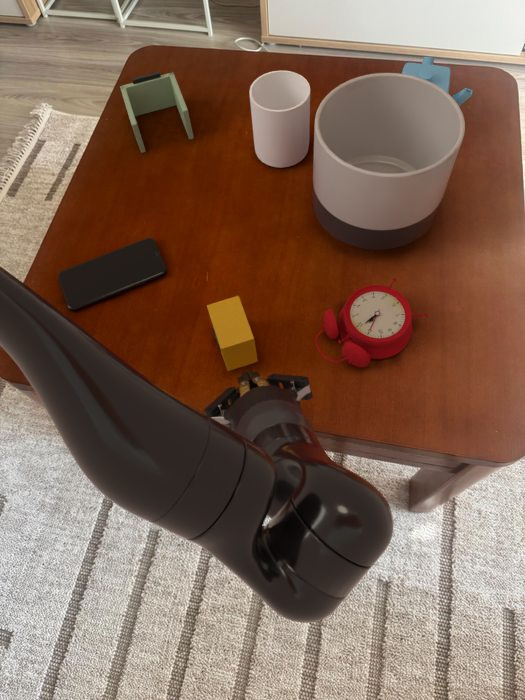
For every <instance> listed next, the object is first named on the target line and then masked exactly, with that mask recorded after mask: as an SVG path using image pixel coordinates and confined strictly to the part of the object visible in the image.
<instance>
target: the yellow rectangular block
mask: <svg viewBox="0 0 525 700" xmlns="http://www.w3.org/2000/svg"><path fill="white" fill-rule="evenodd" d="M206 308H207V311H208V315H209V318H210V322H211V325H212V328H211V329H212V332H213V335H214V338H215V342H216V345H217V347H218V351H220V354H221V356H222V359H223V362H224V365H225V366H224V367H225V369H226V371H227V372H230V371H233V370H236V369H239V368H243V367H246V366H249V365H252V364H255V363H258V362H259V360H258V354H257V347H256V341H255V337H254V334H253V332H252V328H251V326H250V323H249V320H248V317H247V315H246V312H245V309H244V307H243V303H242V300H241V297H240V295H236V296H233V297H232V296H231V297H229V298H226V299H222V300H220V301H216V302H213V303H210V304H206Z"/></svg>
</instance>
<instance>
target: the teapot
mask: <svg viewBox="0 0 525 700" xmlns="http://www.w3.org/2000/svg"><path fill="white" fill-rule="evenodd" d="M434 62H435V58H434V57H431V56H424V57H422V61H421V62H420V63H419V62H406V63H405V64H404V66H403V67H402V70H401V71H402V72H401V73H400V74H407V75H412V76H415V77H419V78H422V79H425V80H427V81H429V82H432V83H434V84H435V85H437V86H439V87H440V88H442V89H443V90H445V91H446V92H447V93H448V94H449V93H450V83H451V68H450V67H449V66H444V65H436V64H434ZM473 91H474V90H473V89H471V88H467V87H464V88H463V89H462V90H460V91H458V92H457V93H455V94H452V95H450V94H449V95H450V96H451V97H452V98H453V99H454V100H455V101H456V103H457V104H458V105H459V107H460V106H462V105H463V104H464V103H465V102H466V101H467V100H468V99H469V98H471V97H472V95H473Z"/></svg>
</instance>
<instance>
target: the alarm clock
mask: <svg viewBox="0 0 525 700" xmlns="http://www.w3.org/2000/svg"><path fill="white" fill-rule="evenodd" d="M396 281H397V278H396V277H394V278H392V281H391V283H390V284H389V286H386V285H382V284H371V285H366V286H363V287H360V288H359V289H357V290H355V291H354V292H353V293H352V294H351V295H350V296H349V297H348V298H347V300H346V302H345V303H344V305H343V307H342V308H341V310H340V312H339V315H338V318H337V320H336V316H335V313H334V310H333V309H332V308H329V309H327V310H325V311H324V313H323V314H322V324H320V326H319V327H320V328H322V329H321V330H320V331H319V332H318V333H317V335H316V337H315V340H314V343H315V346H316V349H317V350H318V352H319V354H320V355H321V356H322V357H323V358H324V359H325V360H326V361H328V362H330V363H332V364H338V363H341V362H344V361H347V362H348V364H349V365H353V366H355V367H357V368H365V367H367V366H368V365H369V364H370V363H371V360H383V359H384V360H385V359H388V358H391V357H394V356H395V355H398V354H399V353H400V352H402V351H403V350H404V349H406V347H407V345H408V344H409V342H410V340H411V338H412V336H413V335H412V334H413V318H419V317H425V318H428V317H429V314H428V313H425V314H413V312H412V308H411V306H410V303H409V301H408V300H407V298H406V297H405V296H404V295H403V294H402V293H401V292H400V291H398V290H396V289H395V288H392V287H393V285H394V283H395V282H396ZM324 332H325V334H326V336H327V337H328V339H330V340H337V339H338V338H340V339H339V340H338V341H337V342H338V343H339V345H341V344H342V343H343V346H342V347H341V354H342V356H343V357H344V358H342V359H339V360H333V359H331V358H328V357H327V356H326V355H325V354H324V353H323V352H322V350H321V349H320V347H319V344H318V338H319V336H320V335H322V333H324Z"/></svg>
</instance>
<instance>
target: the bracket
mask: <svg viewBox="0 0 525 700" xmlns="http://www.w3.org/2000/svg"><path fill="white" fill-rule="evenodd" d="M119 88H120V92H121V95H122V98H123V101H124V105H125V109H126V111H127V112H126V113H127V114H128V115H127V116H128V118H129V121H130V125H131V128H132V130H133V135H134V137H135V139H136V142H137V146H138V148H139V151H140V153H141V154H143V153H146V152H147V150H146V146H145V144H144V140H143V138H142V134H141V132H140V128H139V125H138V121H137V118H136V117H138V116H142V115H145V114H150V113H153V112H157V111H160V110H165V109H168V108H172V107H175V106H176V108H177V110H178V113H179V116H180V119H181V122H182V124H183V127H184V129H185V132H186V135H187V137H188V140H194V139H195V137H194V132H193V128H192V123H191V118H190V115H189V109H188V107H187V104H186V102H185V99H184V97H183V94H182V91H181V89H180V86H179V84H178V81H177V78H176V76H175V73H174V71H171V72H168V73H164V74H161V73H160V71H156V72H152V73H148V74H143V75H140V76H136V77H132V78H131V83H127V84H122V85H120V86H119Z"/></svg>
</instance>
